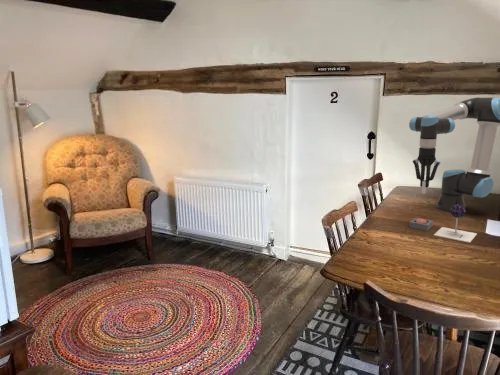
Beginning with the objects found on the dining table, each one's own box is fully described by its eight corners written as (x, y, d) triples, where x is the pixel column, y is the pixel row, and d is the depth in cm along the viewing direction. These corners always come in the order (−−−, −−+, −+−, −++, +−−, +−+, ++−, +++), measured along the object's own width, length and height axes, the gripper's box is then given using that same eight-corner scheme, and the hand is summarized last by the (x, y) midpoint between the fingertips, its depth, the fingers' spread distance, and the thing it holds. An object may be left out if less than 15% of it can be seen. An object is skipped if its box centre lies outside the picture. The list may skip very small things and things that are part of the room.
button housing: (415, 222, 214) (415, 217, 214) (432, 226, 209) (433, 220, 208) (409, 227, 208) (409, 221, 207) (427, 231, 202) (427, 225, 201)
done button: (417, 223, 211) (418, 217, 211) (427, 225, 208) (428, 219, 207) (414, 225, 208) (414, 220, 207) (424, 227, 204) (424, 222, 204)
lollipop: (465, 236, 192) (468, 206, 188) (449, 236, 193) (452, 206, 190) (461, 232, 198) (464, 202, 195) (446, 231, 200) (448, 202, 196)
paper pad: (442, 227, 206) (442, 226, 206) (476, 234, 196) (477, 233, 196) (433, 235, 196) (433, 234, 196) (470, 242, 186) (470, 241, 186)
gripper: (411, 147, 200) (408, 192, 205) (439, 149, 191) (435, 196, 197) (416, 145, 205) (413, 189, 211) (443, 147, 197) (439, 193, 203)
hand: (423, 193), depth 204 cm, fingers closed
